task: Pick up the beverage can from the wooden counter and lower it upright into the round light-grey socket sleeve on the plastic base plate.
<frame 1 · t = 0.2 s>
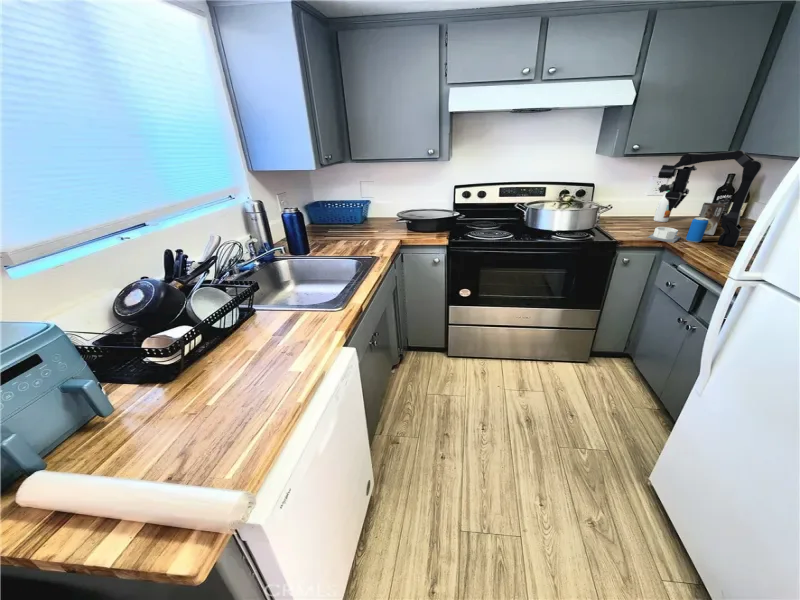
hand: (672, 209, 183), 14 cm above the worktop, tool pointing down, fingers open, 9 cm apart
socket: (663, 238, 184), on the worktop
milk bottle: (660, 221, 218), on the worktop
beverage can: (692, 241, 178), on the worktop
coffee box: (703, 233, 191), on the worktop
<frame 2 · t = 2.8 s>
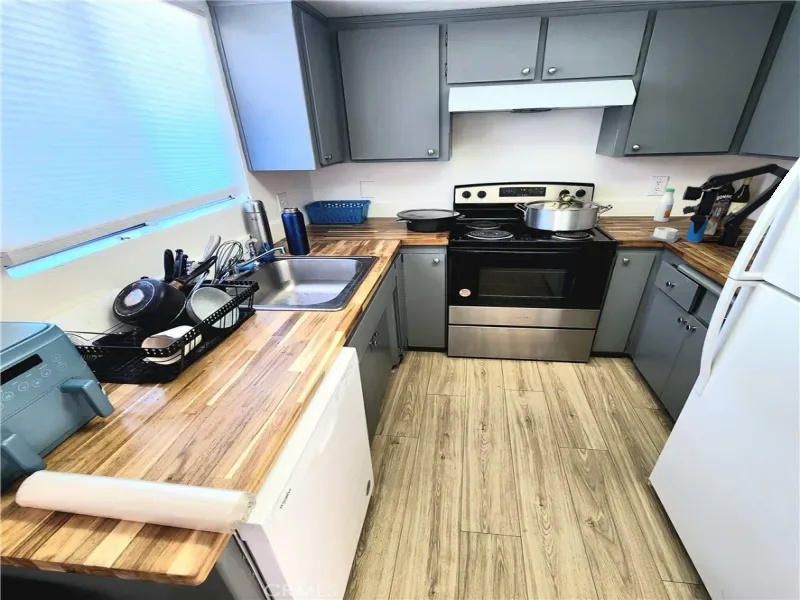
hand: (696, 231, 176), 5 cm above the worktop, tool pointing down, fingers closed on beverage can, 6 cm apart
beverage can: (692, 241, 178), on the worktop, touching gripper
everything else where it was.
when the fingers open (7 cm above the worktop, at t = 9.8 s): beverage can stays where it is, resting on socket.
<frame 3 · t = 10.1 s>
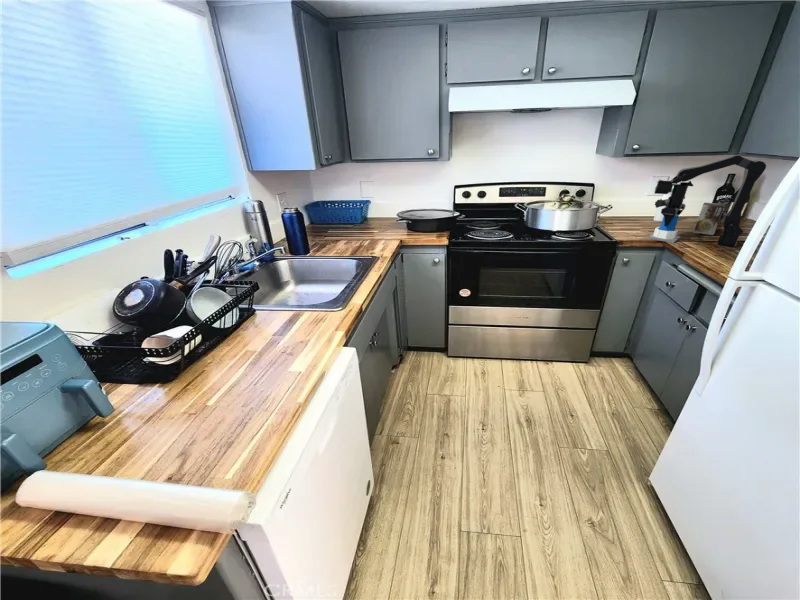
hand: (668, 224, 181), 7 cm above the worktop, tool pointing down, fingers open, 9 cm apart
beverage can: (664, 236, 184), point 1 cm above the worktop, touching socket
everything else where it was.
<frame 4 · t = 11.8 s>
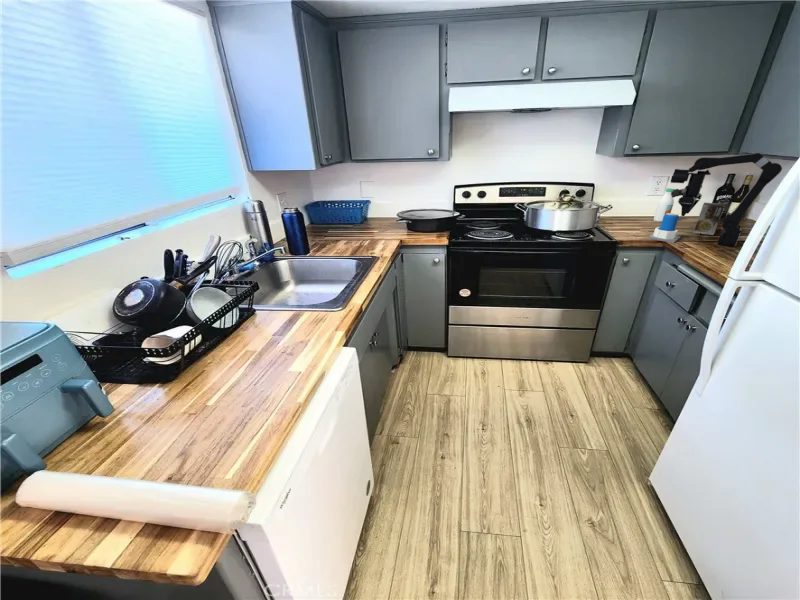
hand: (684, 214, 178), 13 cm above the worktop, tool pointing down, fingers open, 9 cm apart
nothing on the worktop moved.
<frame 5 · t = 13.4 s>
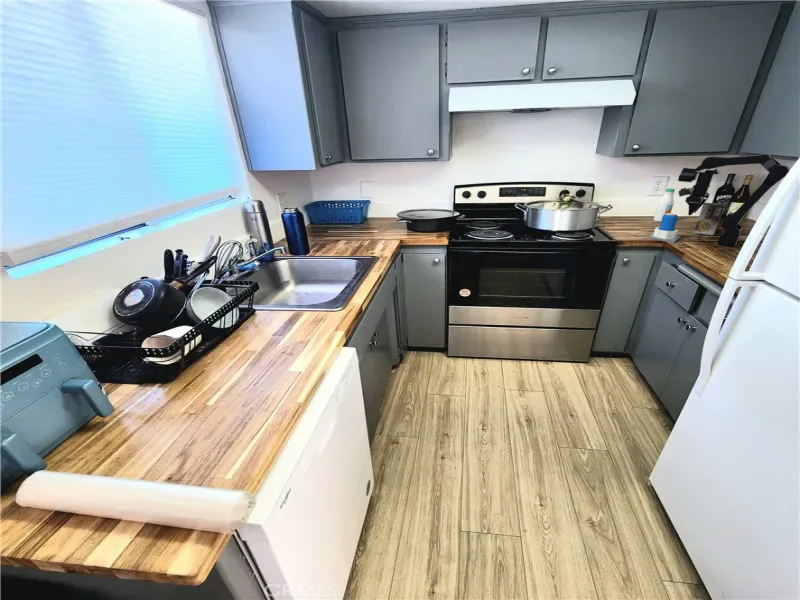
hand: (691, 213, 178), 13 cm above the worktop, tool pointing down, fingers open, 9 cm apart
nothing on the worktop moved.
at the end: beverage can 0.1 cm off-centre on the socket, point 0.9 cm above the socket's base; beverage can tilted 2°; the gripper is holding nothing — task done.
